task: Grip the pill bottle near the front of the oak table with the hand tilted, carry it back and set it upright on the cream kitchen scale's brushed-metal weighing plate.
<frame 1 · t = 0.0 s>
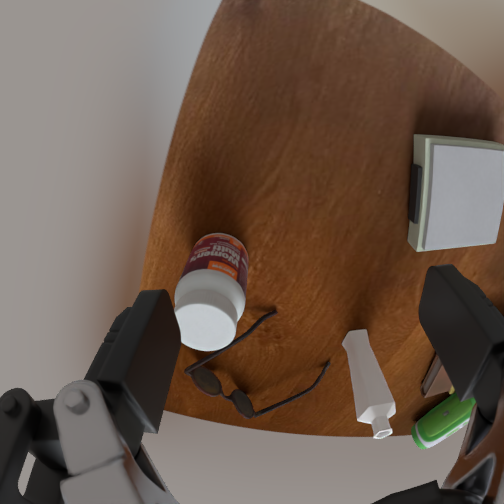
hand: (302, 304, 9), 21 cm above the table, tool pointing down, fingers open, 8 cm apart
perfume bottle: (356, 337, 38), on the table
scale: (455, 189, 28), on the table
book: (482, 344, 40), on the table
speaker: (445, 401, 48), on the table
pill bottle: (220, 256, 33), on the table
eyeglasses: (262, 361, 41), on the table
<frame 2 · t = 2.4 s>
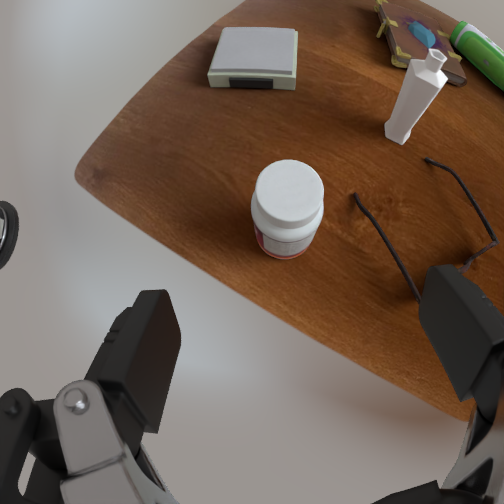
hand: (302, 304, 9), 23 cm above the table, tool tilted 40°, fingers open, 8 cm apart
perfume bottle: (394, 132, 36), on the table
scale: (256, 61, 40), on the table
book: (410, 39, 41), on the table
speaker: (482, 70, 39), on the table
pill bottle: (284, 233, 33), on the table
eyeglasses: (424, 225, 32), on the table
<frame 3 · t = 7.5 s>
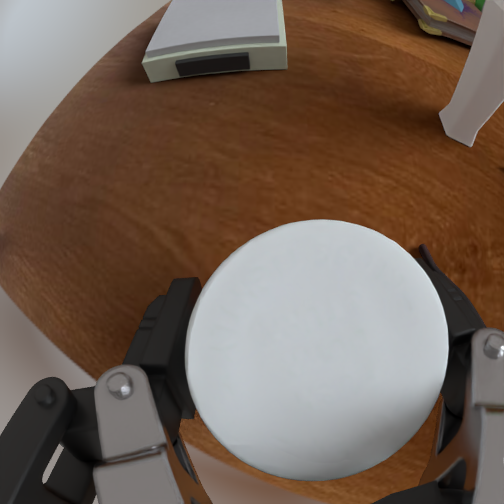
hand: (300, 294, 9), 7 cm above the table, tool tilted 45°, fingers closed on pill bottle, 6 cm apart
perfume bottle: (455, 127, 19), on the table
scale: (222, 38, 24), on the table
book: (430, 5, 26), on the table
pill bottle: (295, 345, 16), on the table, touching gripper
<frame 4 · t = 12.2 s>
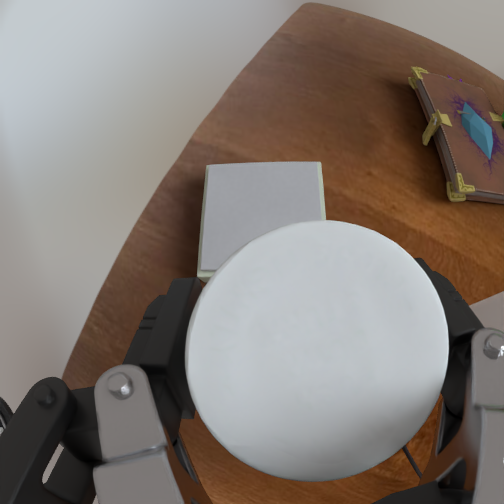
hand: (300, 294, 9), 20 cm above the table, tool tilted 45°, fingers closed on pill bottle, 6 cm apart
perfume bottle: (450, 324, 26), on the table
scale: (264, 225, 31), on the table
book: (458, 130, 33), on the table
pill bottle: (295, 346, 16), point 12 cm above the table, touching gripper
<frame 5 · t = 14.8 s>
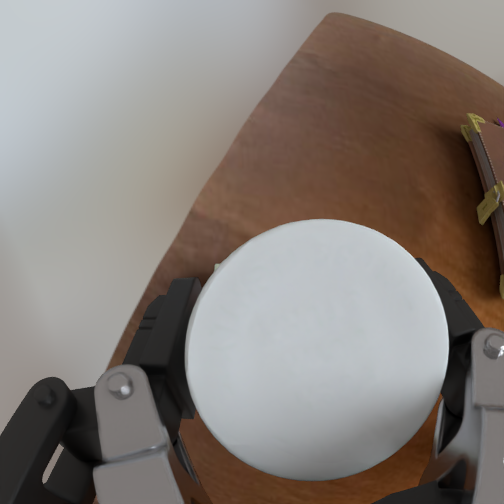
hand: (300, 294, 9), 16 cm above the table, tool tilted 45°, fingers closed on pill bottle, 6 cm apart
pill bottle: (295, 345, 16), point 9 cm above the table, touching gripper
when the fingers open (11 cm above the table, at t = 16.9 s): pill bottle stays where it is, resting on scale.
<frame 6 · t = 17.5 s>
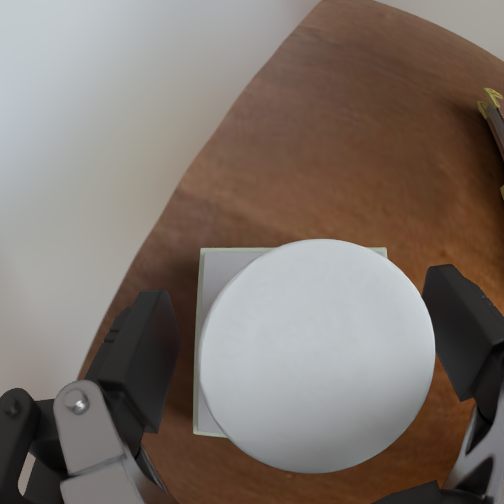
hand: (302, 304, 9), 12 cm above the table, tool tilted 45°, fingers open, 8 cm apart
scale: (293, 345, 20), on the table
pill bottle: (296, 347, 17), point 3 cm above the table, touching scale
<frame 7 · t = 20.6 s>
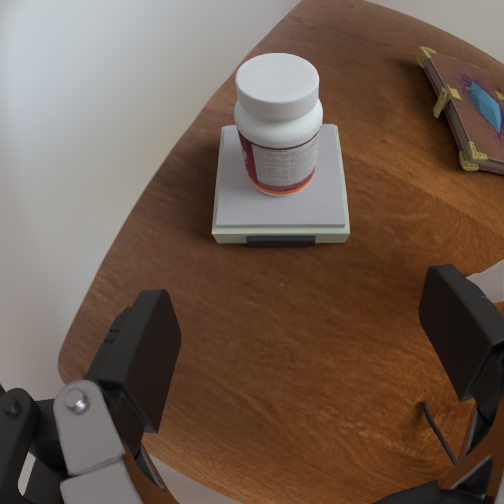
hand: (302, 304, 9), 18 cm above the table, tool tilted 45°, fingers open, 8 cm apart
perfume bottle: (471, 290, 25), on the table
scale: (280, 186, 30), on the table
book: (467, 107, 32), on the table
pill bottle: (280, 170, 27), point 3 cm above the table, touching scale
eyeglasses: (489, 408, 21), on the table
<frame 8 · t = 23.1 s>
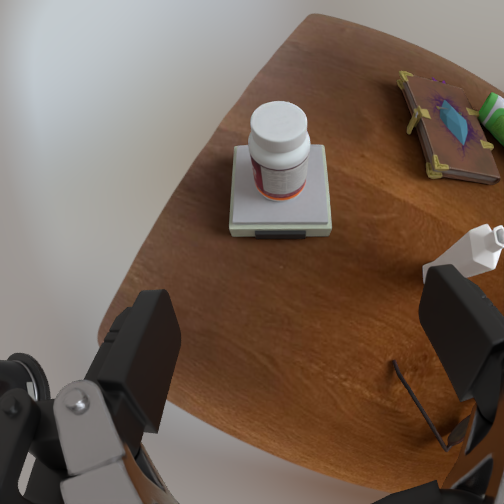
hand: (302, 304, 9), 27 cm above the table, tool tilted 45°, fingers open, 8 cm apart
perfume bottle: (432, 274, 34), on the table
scale: (280, 193, 39), on the table
book: (439, 123, 41), on the table
pill bottle: (280, 181, 36), point 3 cm above the table, touching scale
eyeglasses: (453, 371, 30), on the table
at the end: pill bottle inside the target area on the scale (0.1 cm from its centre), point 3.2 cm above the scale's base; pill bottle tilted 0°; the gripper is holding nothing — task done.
